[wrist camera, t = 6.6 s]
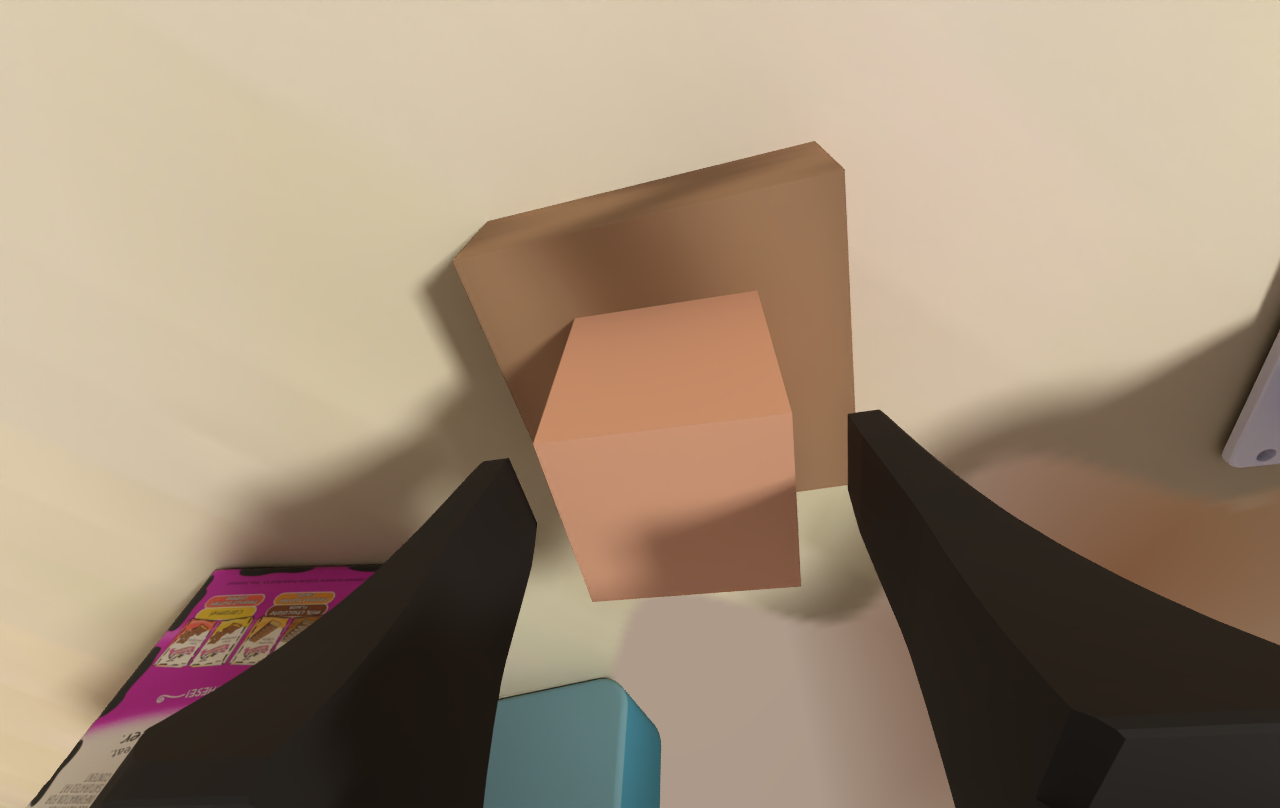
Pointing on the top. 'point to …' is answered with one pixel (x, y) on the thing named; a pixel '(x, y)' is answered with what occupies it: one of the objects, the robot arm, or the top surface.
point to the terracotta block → (674, 451)
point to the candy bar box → (199, 662)
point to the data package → (573, 750)
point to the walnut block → (685, 280)
